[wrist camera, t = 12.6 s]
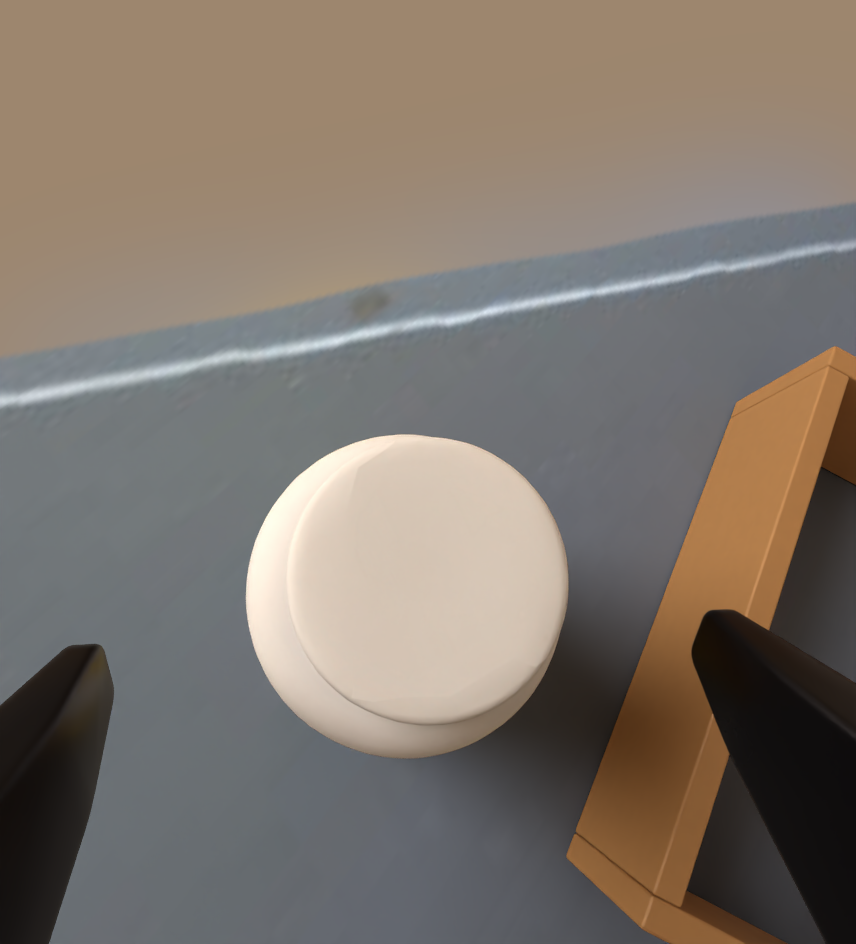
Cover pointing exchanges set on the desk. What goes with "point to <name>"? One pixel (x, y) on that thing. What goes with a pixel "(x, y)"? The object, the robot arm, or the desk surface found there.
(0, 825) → the robot arm
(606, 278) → the desk surface
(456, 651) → the supplement bottle
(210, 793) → the desk surface
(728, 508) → the storage box
